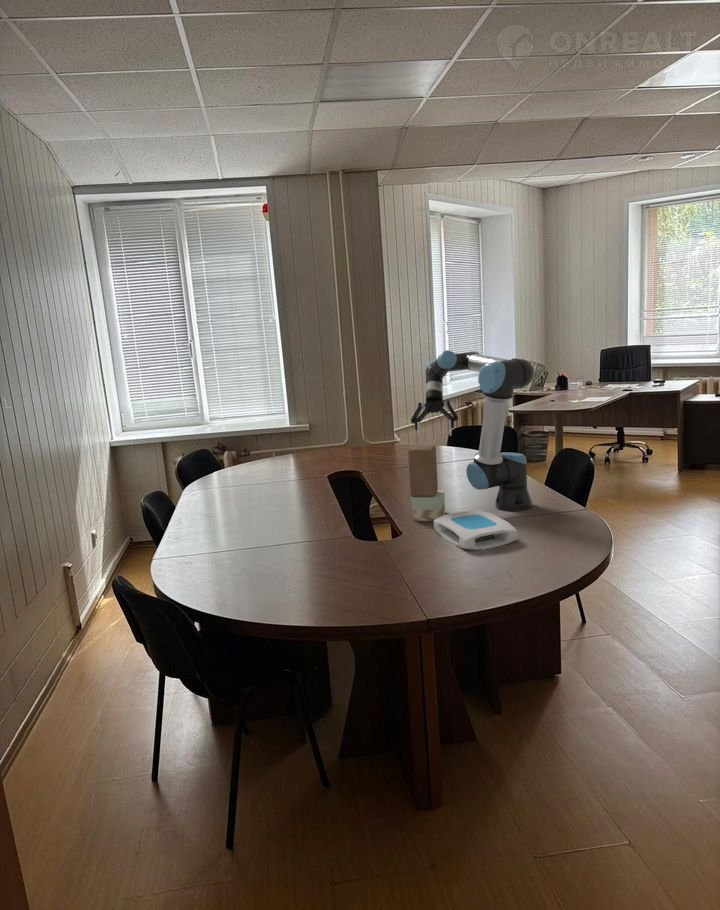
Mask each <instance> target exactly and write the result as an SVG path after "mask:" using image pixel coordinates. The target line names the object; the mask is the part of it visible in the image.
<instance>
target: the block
mask: <svg viewBox="0 0 720 910" xmlns="http://www.w3.org/2000/svg"><path fill="white" fill-rule="evenodd" d="M436 450H437V449H436V446H435V445H434V444H431V445H429V444H426V445H422V444H421V445H419V444H418V445H412V446H411V447H410V448H409V449H408V450H407V460H408V474H409V475H408V476H409V491H410V492H409V493H410V496H411V497H412V496H413V497H433V496H434V495H435V494H436V492H437V490H439V488H438V487H439V486H438V483H439V481H438V467H437V451H436Z"/></svg>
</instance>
